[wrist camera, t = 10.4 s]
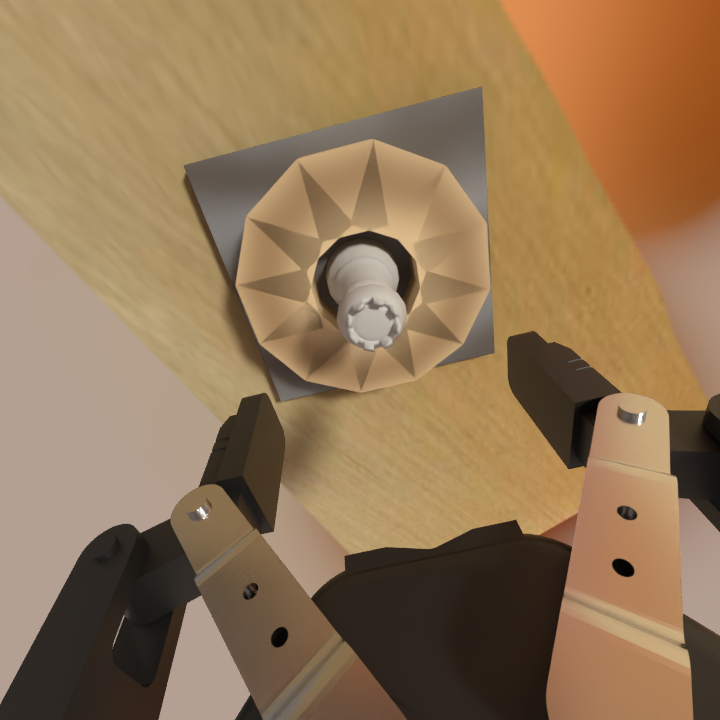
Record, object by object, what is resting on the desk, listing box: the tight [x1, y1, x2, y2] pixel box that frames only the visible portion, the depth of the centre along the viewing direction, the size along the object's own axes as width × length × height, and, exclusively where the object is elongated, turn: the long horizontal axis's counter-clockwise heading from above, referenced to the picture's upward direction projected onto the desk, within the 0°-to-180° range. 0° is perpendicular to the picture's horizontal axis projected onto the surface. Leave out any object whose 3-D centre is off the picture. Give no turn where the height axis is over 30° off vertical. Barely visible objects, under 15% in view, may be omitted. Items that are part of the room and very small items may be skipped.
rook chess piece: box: [326, 238, 407, 352], centre depth 20 cm, size 4×4×8 cm
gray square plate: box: [184, 87, 495, 401], centre depth 23 cm, size 16×16×4 cm
